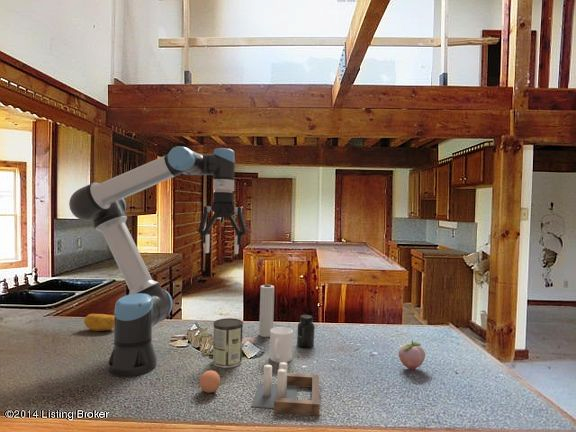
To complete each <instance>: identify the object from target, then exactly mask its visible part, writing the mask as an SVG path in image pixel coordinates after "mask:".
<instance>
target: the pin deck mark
mask: <svg viewBox="0 0 576 432" xmlns="http://www.w3.org/2000/svg"><path fill="white" fill-rule="evenodd" d="M297 395H298V386H297V385H287V392H286V393H285V398H287V399H297ZM275 398H277V383H272V386H271V396H269V397H265V396H263V382H259V383H258V385H257V387H256V391H255V393H254V396H253V399H252V402H251V406H250V407H251V408H259V409H273V410H274V400H275Z"/></svg>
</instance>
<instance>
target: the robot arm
mask: <svg viewBox="0 0 576 432" xmlns="http://www.w3.org/2000/svg"><path fill="white" fill-rule="evenodd" d="M235 158H236V156H235V150H233V149H231V148H226V147H225V148H224V147H220V148H219V147H218V148H214V150H213V153H212V154H211V153H209V154H208V153H207V154H203V153H202V154H200V153H198V152H196V151H193V150H191V149H190V148H188V147H185V146H178V145H177V146H174V147H172V148H171V150H170V151H169V152H168V154H165V155H163V156H160V157H159V158H156V159H154V160H151V161H149V162H147V163H145V164H142V165H139V166H137V167H135V168H133V169H131V170H129V171H126V172H124V173H122V174H118V175H117V176H114V177H111V178H109V179H107V180H105V181H103V182H100V183H99V182H92V183H90V184H88V185H85V186H83V187H81V188H79V189H77V190H75V192H73V193H72V194H71V196H70V199H69V200H68V201H69V203H68V206H69V209H70V212H71V213H72V215H73V216H74V217H75V218H77V219H79V220H81V221H84V222H91V223H92V225H93V227H94V229H95V230H96V231H97V232H99V233H100V232H101V234H102V235H103V237H104V239H105V242H106V244H107V246H108V248H109V250H110V252H111V254H112V256H113V258H114V261H115V263H116V265H117V267H118V269H119V271H120V274H121V275H122V277H123V279H124V281H125V284H126V285H127V289H128V290H129V293H128V294H125V295H124V296H122V297H120V298H119V299H117V301H116V302H115V305H114V310H113V315H115V319H114V328H113V329H114V331H113V348H112V350H111V353H110V356H109V359H108V361H107V369H106V370H107V373H108V374H109V375H112V376H115V377H126V378H127V377H136V376H140V375H144V374H147V373H149V372H151V371H153V370H154V369H155V368H156V367H157V361H158V360H157V355H156V352H155V349H154V346H153V343H152V342H153V341H152V340H153V339H152V337H153V336H152V335H153V327H155V325H157V324H158V323H160V322H162V321H164V320H165V319H166V318H168V316H169V315H170V313H171V311H172V310H173V305H174V304H173V298H172V296H171V294H170V293H169V292H168V291H167V290H165V289H163V288H162V286H161V284H160V282H159V281H156V280H154V279H153V277H152V276H151V274H150V272H149V270H148V268H147V266H146V263H145V261H144V259H143V258H142V254H141V253H140V251H139V249H138V247H137V245H136V243H135V241H134V238H133V236H132V235H131V233H130V230H129V229H128V226H127V223H126V222H127V219H128V216H127V213H126V210H127V203H126V200H125V199H126V198H128V197H130V196H133V195H135V194H137V193H139V192H142V191H144V190H147V189H148V188H152V187H153V186H155V185H158V184H160V183H163V182H165V181H168V180H170V179H172V178H175V177H177V176H180V175H181V174H183V175H187V176H188V175H189V176H212V177H213V179H212V190H213V191H214V192H213V193H212V205H211V206H209V205H208V206H207V205H204V206H203V214H202V217H201V220H200V223H199V225H198V229H197V233H199V234H202V243H203V244H205V245H204V247H205V248H204V250H205V251H204V253H205V254H209V253H210V246H211V245H210V241H211V240H210V239H211V234H209V232H210V230H211V229H212V227H213V225H214V224H215V222H216V221H217V219H218V218H227V219H228V220H229V222H230V225H232V227H233V229H234V231H235V233H236V235H235V237H234V255H238V254H239V246H240V245H242V238H243V237H242V236H244V235H246V234H247V233H248V231H247V228H246V224H245V220H244V216H243V207H242V206H239V207H236V206H235V204H234V202H235V201H234V200H235V194H234V191H235V170H236V169H235V168H236V167H235V166H236V159H235ZM211 210H212V212H213V215H212V216H211V218H210V220H209V221H208V223H207V220H208V217H209V213H211ZM234 212H235V213H236V214H237V219H238V222H239V226H240V227H239V226H238V224H237V222H236V220H235V218H234V215H233V213H234ZM206 223H207V224H206Z"/></svg>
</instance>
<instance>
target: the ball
mask: <svg viewBox="0 0 576 432" xmlns="http://www.w3.org/2000/svg"><path fill="white" fill-rule="evenodd" d="M220 385H221V378H220V374H219V373H218V372H217V371H215V370H206V371H205V372H204V373H202V374H201V376H200V377H199V387H200V389H201V390H202V391H203V392H205V393H207V394H211V393H213V392H215V391H217V390H218V389H219V387H220Z"/></svg>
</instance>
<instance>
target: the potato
mask: <svg viewBox="0 0 576 432" xmlns="http://www.w3.org/2000/svg"><path fill="white" fill-rule="evenodd" d="M114 319H115V315H114V314H106V313H105V314H104V313H89V314H88V315H86V316H85V317H84V319H83V322H84V325H85V327H87V329H89V330H91V331H95V332H103V331H110V330H112V329H114Z"/></svg>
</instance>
